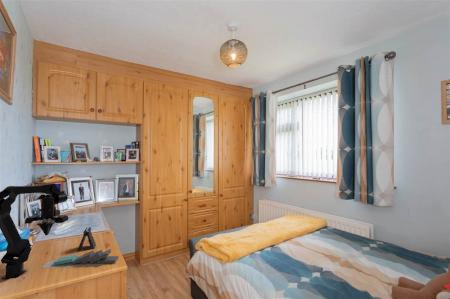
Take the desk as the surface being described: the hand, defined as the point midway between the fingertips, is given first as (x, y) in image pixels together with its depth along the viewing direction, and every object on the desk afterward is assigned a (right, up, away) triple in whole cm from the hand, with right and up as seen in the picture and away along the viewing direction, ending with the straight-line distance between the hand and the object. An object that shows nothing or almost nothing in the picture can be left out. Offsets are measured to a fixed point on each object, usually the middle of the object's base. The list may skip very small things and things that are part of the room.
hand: (46, 235), depth 124 cm
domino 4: (+26, -12, -3) cm, 29 cm away
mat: (+18, -13, -4) cm, 23 cm away
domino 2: (+18, -12, -4) cm, 22 cm away
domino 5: (+30, -12, -2) cm, 32 cm away
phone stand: (+13, -14, +15) cm, 24 cm away
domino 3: (+22, -12, -3) cm, 26 cm away
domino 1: (+9, -12, -5) cm, 16 cm away
